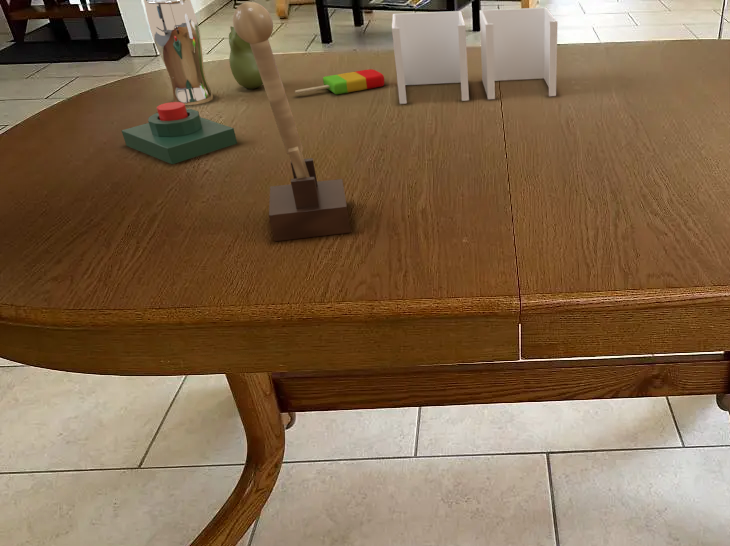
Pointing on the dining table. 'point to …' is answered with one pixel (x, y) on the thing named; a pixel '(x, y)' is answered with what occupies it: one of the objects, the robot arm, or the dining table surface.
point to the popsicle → (350, 82)
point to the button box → (179, 137)
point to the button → (172, 111)
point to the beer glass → (179, 48)
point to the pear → (243, 62)
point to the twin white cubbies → (498, 48)
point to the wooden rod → (270, 76)
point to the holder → (308, 207)
